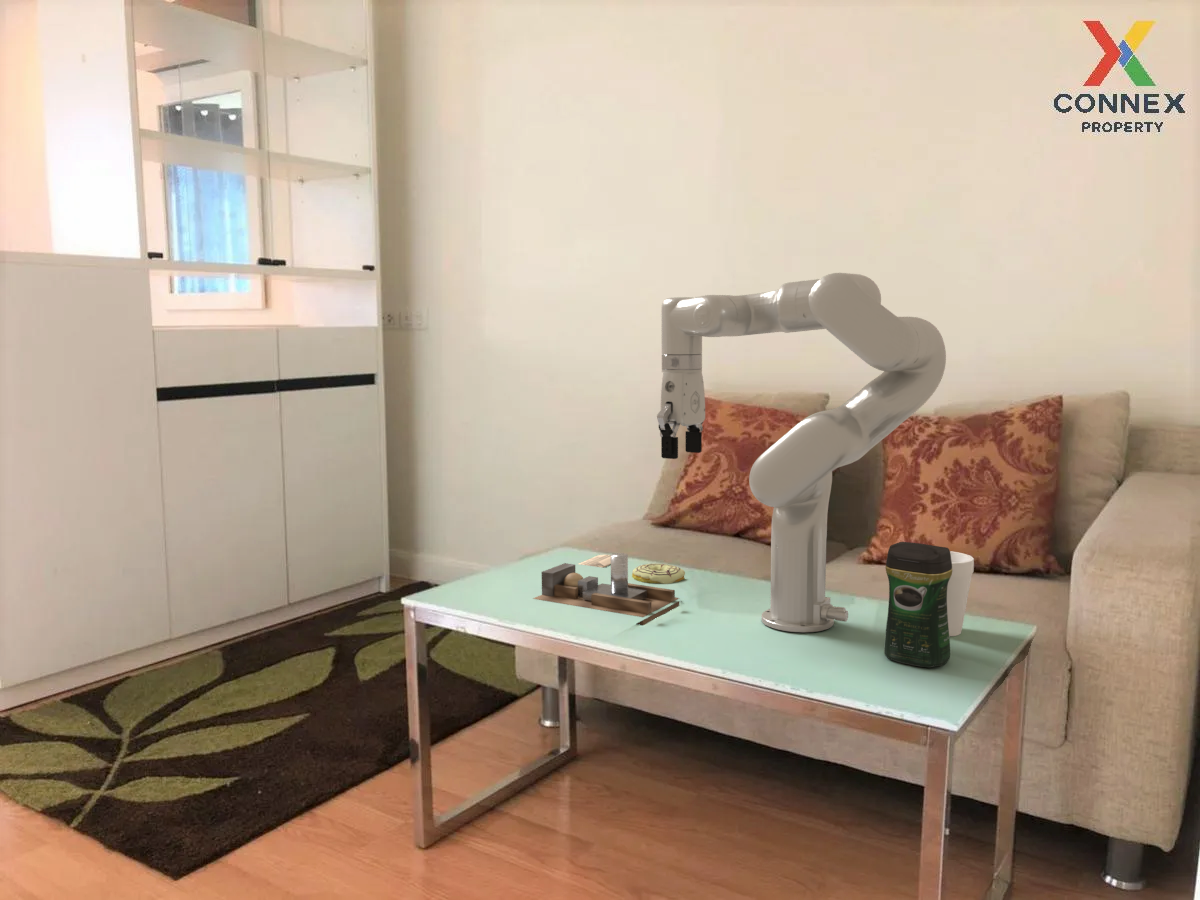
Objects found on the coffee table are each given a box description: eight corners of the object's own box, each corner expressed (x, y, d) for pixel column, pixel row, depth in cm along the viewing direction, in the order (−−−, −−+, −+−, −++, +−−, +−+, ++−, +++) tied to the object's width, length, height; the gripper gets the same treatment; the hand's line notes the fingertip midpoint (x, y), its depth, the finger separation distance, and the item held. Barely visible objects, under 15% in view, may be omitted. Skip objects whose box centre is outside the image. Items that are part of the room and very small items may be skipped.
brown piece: (679, 605, 185) (679, 574, 184) (643, 625, 173) (642, 592, 172) (573, 589, 197) (573, 560, 197) (532, 606, 186) (532, 575, 185)
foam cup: (901, 626, 171) (903, 553, 169) (944, 619, 174) (946, 548, 173) (938, 642, 162) (941, 565, 161) (982, 635, 165) (985, 560, 164)
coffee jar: (956, 659, 154) (960, 543, 151) (936, 673, 148) (940, 553, 145) (897, 646, 160) (901, 535, 158) (876, 659, 154) (879, 544, 152)
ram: (647, 597, 184) (646, 553, 183) (628, 606, 179) (628, 561, 177) (593, 589, 191) (592, 546, 189) (574, 597, 185) (573, 553, 184)
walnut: (588, 592, 190) (588, 571, 189) (577, 597, 186) (576, 576, 186) (571, 589, 192) (571, 569, 191) (559, 594, 188) (559, 573, 188)
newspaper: (596, 560, 224) (596, 553, 224) (623, 564, 221) (623, 556, 220) (540, 585, 204) (540, 576, 204) (569, 589, 200) (569, 580, 200)
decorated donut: (674, 594, 194) (674, 575, 193) (624, 588, 198) (624, 570, 198) (691, 581, 203) (691, 563, 203) (643, 576, 208) (643, 559, 207)
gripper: (678, 366, 173) (678, 462, 175) (719, 362, 187) (719, 451, 190) (641, 365, 177) (641, 459, 179) (684, 362, 191) (685, 449, 194)
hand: (681, 455), depth 184 cm, fingers open, 9 cm apart
